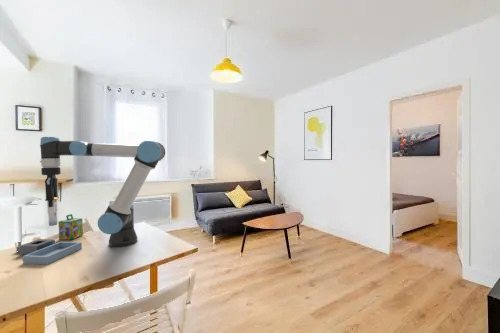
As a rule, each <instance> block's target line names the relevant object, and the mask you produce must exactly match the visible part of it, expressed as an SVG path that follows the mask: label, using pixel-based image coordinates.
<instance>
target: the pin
mask: <svg viewBox="0 0 500 333" xmlns="http://www.w3.org/2000/svg"><path fill="white" fill-rule="evenodd" d="M58 197H59V196H58ZM58 197H54V200H55V213H49V214H48V213H47V214H48V226H49V227H52V226H58V200H59V198H58Z"/></svg>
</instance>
